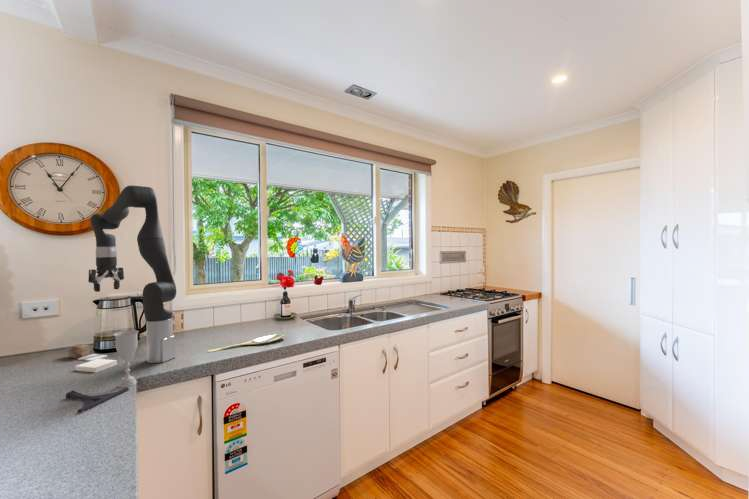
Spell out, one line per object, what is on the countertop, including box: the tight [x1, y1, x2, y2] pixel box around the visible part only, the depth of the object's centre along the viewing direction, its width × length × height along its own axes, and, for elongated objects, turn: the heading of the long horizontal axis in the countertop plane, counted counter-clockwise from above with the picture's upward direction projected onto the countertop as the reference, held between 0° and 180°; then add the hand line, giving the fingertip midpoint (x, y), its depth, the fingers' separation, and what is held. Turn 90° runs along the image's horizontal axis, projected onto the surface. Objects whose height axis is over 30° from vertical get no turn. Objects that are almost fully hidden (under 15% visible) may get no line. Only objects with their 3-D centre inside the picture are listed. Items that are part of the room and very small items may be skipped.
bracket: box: [65, 386, 130, 413], centre depth 98 cm, size 14×15×3 cm
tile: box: [75, 358, 118, 373], centre depth 124 cm, size 2×8×10 cm
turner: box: [67, 343, 108, 362], centre depth 135 cm, size 16×6×5 cm, turn 76°
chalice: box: [113, 329, 140, 388], centre depth 108 cm, size 7×7×18 cm
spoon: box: [206, 333, 284, 353], centre depth 150 cm, size 35×11×2 cm, turn 122°
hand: (107, 290), depth 147 cm, fingers open, 8 cm apart
